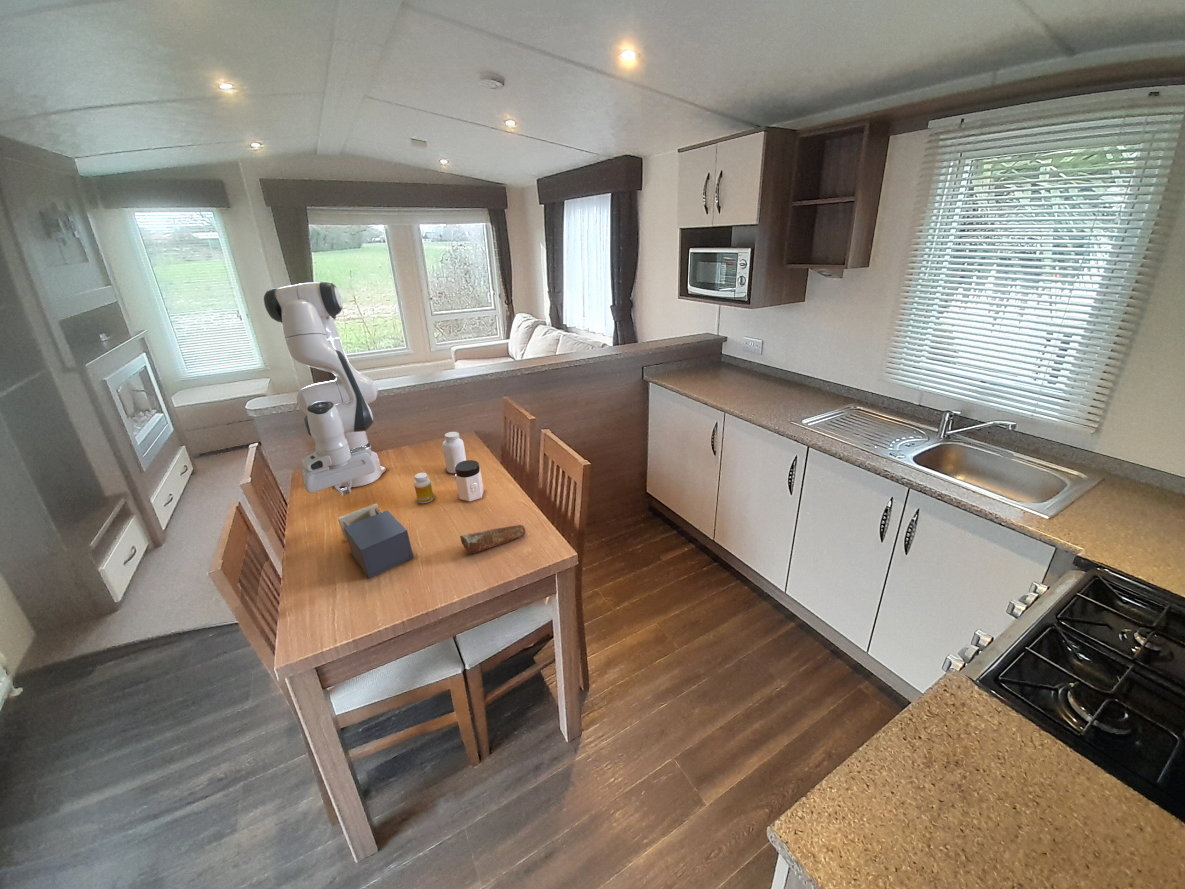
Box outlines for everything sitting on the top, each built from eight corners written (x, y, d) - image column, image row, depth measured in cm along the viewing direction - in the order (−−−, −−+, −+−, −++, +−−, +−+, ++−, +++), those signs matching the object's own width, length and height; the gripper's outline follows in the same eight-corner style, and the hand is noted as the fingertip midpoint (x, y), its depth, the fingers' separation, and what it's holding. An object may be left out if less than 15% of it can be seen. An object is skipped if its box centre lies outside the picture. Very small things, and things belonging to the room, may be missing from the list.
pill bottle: (471, 465, 189) (466, 431, 183) (460, 475, 182) (454, 439, 176) (454, 463, 192) (448, 429, 185) (442, 472, 185) (436, 437, 179)
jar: (463, 504, 163) (458, 473, 158) (455, 494, 169) (450, 464, 164) (488, 496, 168) (483, 466, 163) (479, 486, 174) (474, 457, 169)
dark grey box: (351, 554, 140) (343, 527, 136) (394, 536, 148) (387, 510, 143) (369, 578, 130) (361, 550, 126) (413, 557, 138) (407, 530, 134)
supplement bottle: (433, 502, 165) (428, 477, 161) (417, 504, 164) (412, 480, 160) (433, 494, 170) (428, 470, 166) (417, 497, 169) (412, 473, 164)
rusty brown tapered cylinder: (461, 547, 141) (458, 532, 139) (523, 530, 148) (521, 515, 146) (466, 560, 136) (463, 544, 134) (529, 541, 143) (527, 525, 141)
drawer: (339, 533, 148) (333, 511, 145) (376, 518, 155) (371, 498, 152) (359, 559, 136) (352, 536, 133) (398, 542, 143) (392, 520, 140)
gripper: (365, 441, 153) (375, 479, 159) (295, 462, 141) (308, 502, 147) (372, 446, 149) (382, 485, 155) (300, 468, 137) (314, 509, 142)
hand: (346, 493), depth 150 cm, fingers closed
